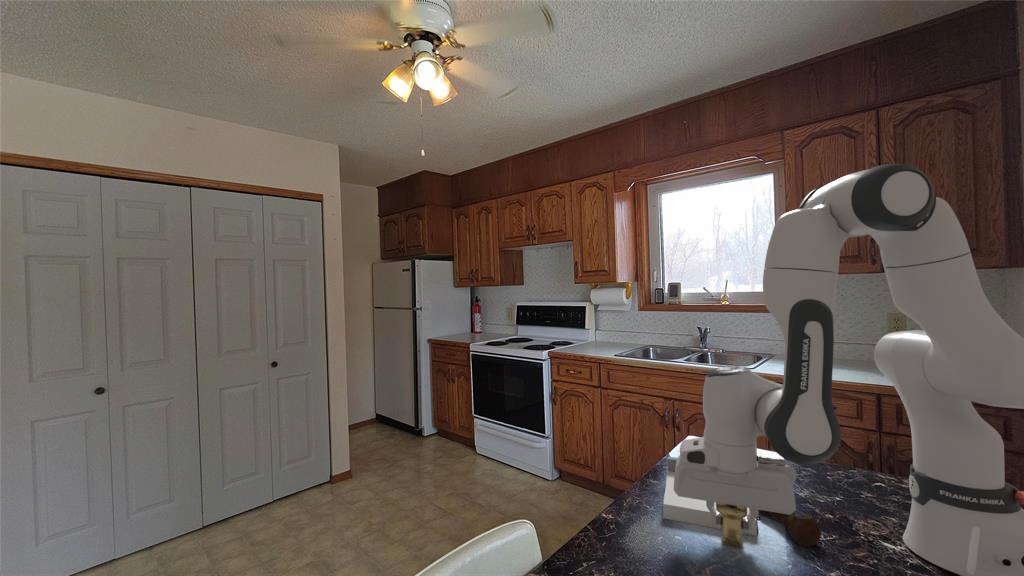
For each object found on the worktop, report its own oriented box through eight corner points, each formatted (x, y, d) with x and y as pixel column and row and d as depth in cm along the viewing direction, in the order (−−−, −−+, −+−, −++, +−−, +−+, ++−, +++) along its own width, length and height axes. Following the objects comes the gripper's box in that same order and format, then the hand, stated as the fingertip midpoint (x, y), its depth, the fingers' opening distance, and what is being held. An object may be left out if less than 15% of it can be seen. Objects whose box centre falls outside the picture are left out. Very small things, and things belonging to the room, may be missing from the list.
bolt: (759, 512, 92) (813, 553, 77) (739, 502, 92) (790, 541, 77) (770, 488, 93) (826, 524, 78) (751, 478, 92) (803, 512, 77)
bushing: (746, 537, 80) (745, 501, 80) (749, 553, 75) (748, 514, 75) (716, 531, 82) (715, 496, 82) (717, 547, 77) (716, 509, 77)
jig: (746, 492, 97) (745, 466, 97) (756, 535, 81) (756, 504, 81) (668, 480, 104) (667, 456, 104) (663, 518, 87) (662, 489, 87)
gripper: (791, 454, 77) (793, 528, 77) (673, 440, 86) (675, 507, 86) (799, 468, 72) (801, 548, 72) (671, 451, 80) (673, 523, 80)
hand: (731, 525), depth 79 cm, fingers closed on bushing, 4 cm apart
